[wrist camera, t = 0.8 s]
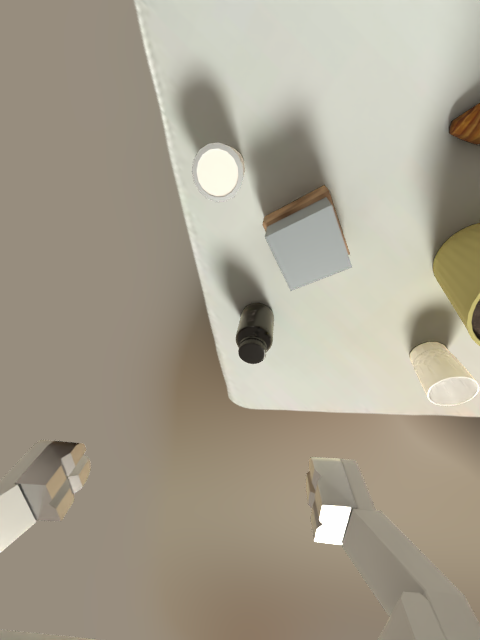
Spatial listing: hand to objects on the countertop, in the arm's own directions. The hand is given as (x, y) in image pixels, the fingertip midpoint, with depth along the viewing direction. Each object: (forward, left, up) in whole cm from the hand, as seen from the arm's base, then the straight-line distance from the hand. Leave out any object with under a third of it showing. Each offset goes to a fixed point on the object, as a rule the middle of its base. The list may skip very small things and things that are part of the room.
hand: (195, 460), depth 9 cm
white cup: (-18, +41, -41) cm, 61 cm away
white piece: (+2, -8, -41) cm, 41 cm away
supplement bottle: (+10, +18, -41) cm, 46 cm away
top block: (-4, +6, -36) cm, 37 cm away
